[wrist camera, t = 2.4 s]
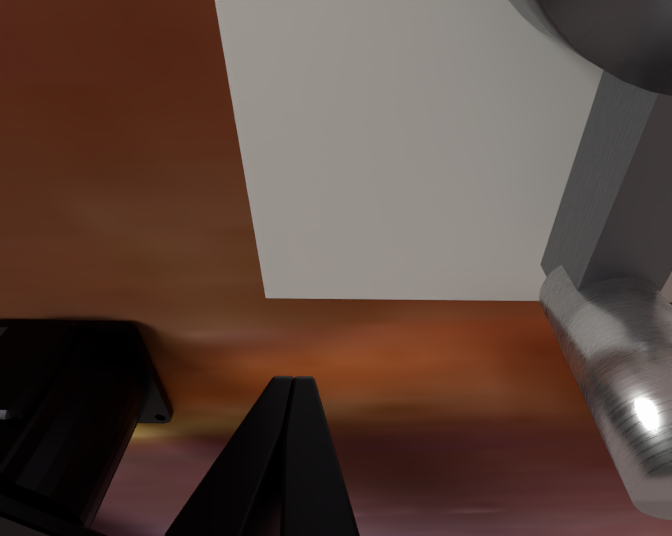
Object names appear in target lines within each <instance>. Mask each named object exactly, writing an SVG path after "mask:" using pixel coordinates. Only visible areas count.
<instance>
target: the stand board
mask: <svg viewBox="0 0 672 536" xmlns="http://www.w3.org/2000/svg"><path fill="white" fill-rule="evenodd" d="M215 4H216V10H217V16H218V22H219V27H220V33H221V39H222V45H223V51H224V57H225V62H226V68H227V74H228V80H229V86H230V92H231V97H232V103H233V109H234V115H235V121H236V127H237V132H238V138H239V144H240V150H241V156H242V162H243V167H244V173H245V179H246V185H247V191H248V197H249V202H250V208H251V214H252V220H253V226H254V232H255V237H256V243H257V249H258V255H259V261H260V267H261V273H262V278H263V284H264V290H265V296H266V298H310V299H404V300H499V301H539V293H540V289H541V287H542V284H543V282H544V281H545V279H546V278H547V277H546V275H545V273H544V271H543V269H542V267H541V265H540V264H541V261H542V258H543V255H544V251H545V248H546V245H547V242H548V239H549V236H550V233H551V230H552V227H553V224H554V221H555V218H556V215H557V211H558V208H559V205H560V202H561V199H562V196H563V193H564V190H565V187H566V184H567V181H568V178H569V175H570V171H571V168H572V165H573V162H574V159H575V156H576V153H577V150H578V147H579V144H580V141H581V138H582V135H583V131H584V128H585V125H586V122H587V119H588V116H589V113H590V110H591V107H592V104H593V101H594V98H595V95H596V91H597V88H598V85H599V82H600V79H601V76H602V73H603V69H601V68H599V67H598V66H596V65H594V64H593V63H591V62H590V61H588V60H586V59H585V58H583V57H581V56H580V55H578V54H576V53H575V52H573V51H571V50H570V49H568V48H566V47H565V46H563V45H562V44H560V43H558V42H557V41H555V40H553V39H552V38H550V37H548V36H547V35H545V34H543V33H542V32H540V31H539V30H538V29H536V28H535V27H534V26H533V25H532V24H530V23H529V22H528V21H527V20H526V19H525V18H523V17H522V16H521V15H520V13H519V12H518V11H517V10H516V9H515V8H514V6H513V5H512V4H511V3H510V2H509V0H215ZM661 293H662V294H663V295H664V297H665V298H666V299H667V300H668V302H672V272H671V274H670V276H669V278H668V279H667V281H666V283H665V285H664V286H663V288H662V290H661Z"/></svg>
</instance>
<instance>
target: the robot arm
mask: <svg viewBox="0 0 672 536" xmlns="http://www.w3.org/2000/svg"><path fill="white" fill-rule="evenodd" d="M173 413H174V412H173V409H172V406H171V404H170V402H169V400H168V397H167V395H166V393H165V390H164V388H163V386H162V384H161V381H160V379H159V377H158V374H157V372H156V370H155V368H154V365H153V363H152V361H151V358H150V356H149V354H148V352H147V349H146V347H145V345H144V342H143V340H142V338H141V336H140V333H139V331H138V330H137V328H136V327H135V326H134V325H132V324H130V323H127V322H112V321H40V320H0V536H107V535H104V534H102V533H99V532H97V531H95V530H92V529H90V528H91V525H92V523H93V521H94V519H95V517H96V514H97V512H98V510H99V508H100V506H101V503H102V501H103V499H104V497H105V494H106V492H107V490H108V488H109V486H110V483H111V481H112V479H113V477H114V474H115V472H116V470H117V468H118V466H119V463H120V461H121V459H122V457H123V455H124V452H125V450H126V448H127V446H128V443H129V441H130V439H131V437H132V435H133V432H134V430H135V428H136V426H137V423H168V422H170V420H171V418H172V415H173ZM165 536H360V535H359V531H358V528H357V524H356V521H355V517H354V514H353V510H352V507H351V504H350V500H349V497H348V493H347V490H346V486H345V483H344V479H343V476H342V472H341V469H340V465H339V462H338V458H337V455H336V451H335V448H334V444H333V441H332V438H331V434H330V431H329V427H328V424H327V420H326V417H325V413H324V410H323V406H322V403H321V399H320V396H319V392H318V389H317V385H316V382H315V379H314V378H313V377H310V376H297V377H295V378H293V377H292V376H275V377H273V378H272V379H271V381H270V382H269V384H268V385H267V386H266V388H265V389H264V391H263V392H262V394H261V395H260V397H259V398H258V399H257V401H256V402H255V404H254V405H253V407H252V408H251V410H250V411H249V413H248V414H247V415H246V417H245V418H244V420H243V421H242V423H241V424H240V426H239V427H238V429H237V430H236V431H235V433H234V434H233V436H232V437H231V439H230V440H229V442H228V443H227V445H226V446H225V447H224V449H223V450H222V452H221V453H220V455H219V456H218V458H217V459H216V460H215V462H214V463H213V465H212V466H211V468H210V469H209V471H208V472H207V474H206V475H205V476H204V478H203V479H202V481H201V482H200V484H199V485H198V487H197V488H196V490H195V491H194V492H193V494H192V495H191V497H190V498H189V500H188V501H187V503H186V504H185V506H184V507H183V508H182V510H181V511H180V513H179V514H178V516H177V517H176V519H175V520H174V521H173V523H172V524H171V526H170V527H169V529H168V530H167V532H166V533H165Z"/></svg>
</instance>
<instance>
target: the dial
mask: <svg viewBox="0 0 672 536" xmlns="http://www.w3.org/2000/svg"><path fill="white" fill-rule="evenodd" d="M509 2H510V3H511V4H512V5H513V6H514V8H515V9H516V10H517V11H518V12H519V13H520V15H521V16H522V17H523V18H525V19H526V20H527V21H528V22H529V23H530V24H532V25H533V26H534V27H535V28H536V29H538V30H539V31H540V32H542V33H543V34H545V35H547V36H548V37H550V38H552V39H553V40H555V41H557V42H558V43H560V44H562V45H563V46H565V47H566V48H568V49H570V50H571V51H573V52H575V53H576V54H578V55H580V56H581V57H583V58H585V59H586V60H588V61H590V62H591V63H593V64H594V65H596V66H598V67H599V68H601V69H603V73H602V76H601V79H600V82H599V85H598V88H597V91H596V95H595V98H594V101H593V104H592V107H591V110H590V113H589V116H588V119H587V122H586V125H585V128H584V131H583V135H582V138H581V141H580V144H579V147H578V150H577V153H576V156H575V159H574V162H573V165H572V168H571V171H570V175H569V178H568V181H567V184H566V187H565V190H564V193H563V196H562V199H561V202H560V205H559V208H558V211H557V215H556V218H555V221H554V224H553V227H552V230H551V233H550V236H549V239H548V242H547V245H546V248H545V251H544V255H543V258H542V261H541V264H540V265H541V267H542V269H543V271H544V273H545V275H546V277H547V278H546V279H545V281H544V282H543V284H542V287H541V289H540V293H539V301H540V305H541V307H542V309H543V311H544V314H545V316H546V318H547V320H548V322H549V324H550V326H551V329H552V331H553V333H554V335H555V337H556V339H557V341H558V344H559V346H560V348H561V350H562V352H563V354H564V357H565V359H566V361H567V363H568V365H569V367H570V369H571V372H572V374H573V376H574V378H575V380H576V382H577V384H578V387H579V389H580V391H581V393H582V395H583V397H584V399H585V402H586V404H587V406H588V408H589V410H590V412H591V414H592V417H593V419H594V421H595V423H596V425H597V427H598V429H599V432H600V434H601V436H602V438H603V440H604V442H605V444H606V447H607V449H608V451H609V453H610V455H611V457H612V460H613V462H614V464H615V466H616V468H617V470H618V472H619V475H620V477H621V479H622V481H623V483H624V485H625V487H626V490H627V492H628V494H629V496H630V498H631V500H632V502H633V504H634V506H635V507H636V508H637V509H638V510H639V511H641V512H642V513H644V514H647V515H649V516H652V517H656V518H661V519H667V520H672V305H671V304H670V303H669V302H668V300H667V299H666V298H665V297H664V295H663V294H662V293H661V290H662V288H663V286H664V285H665V283H666V281H667V279H668V278H669V276H670V274H671V272H672V0H509Z"/></svg>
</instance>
